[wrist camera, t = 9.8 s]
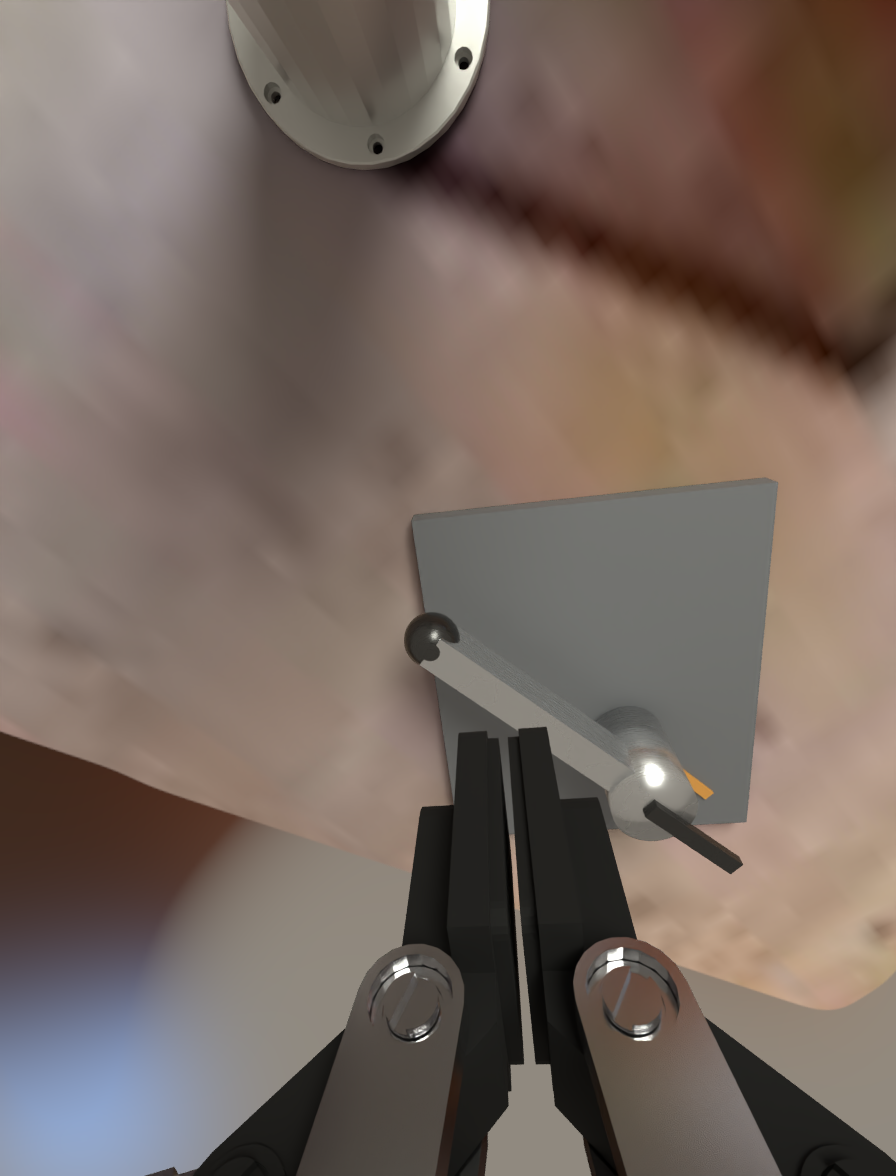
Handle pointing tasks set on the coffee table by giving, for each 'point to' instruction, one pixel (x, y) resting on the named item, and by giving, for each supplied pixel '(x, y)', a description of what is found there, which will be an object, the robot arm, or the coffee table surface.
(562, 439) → the coffee table surface
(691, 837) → the bar with ball ends
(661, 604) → the stand plate
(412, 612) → the coffee table surface
